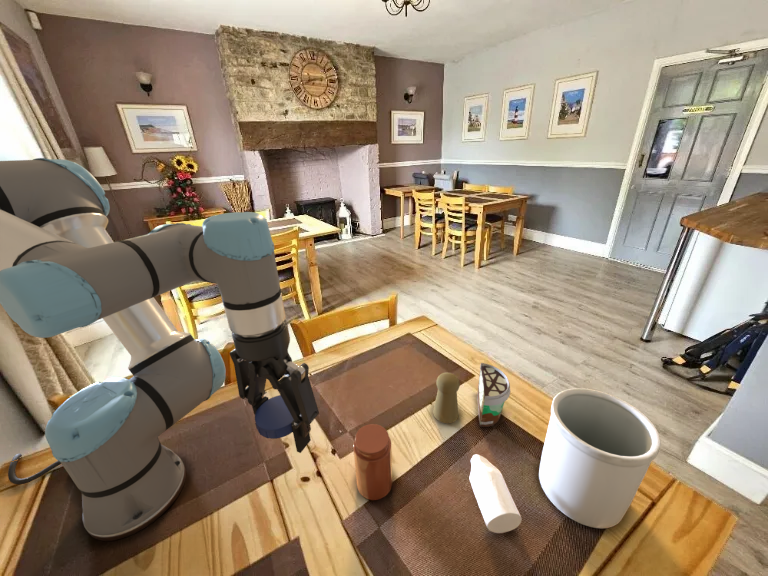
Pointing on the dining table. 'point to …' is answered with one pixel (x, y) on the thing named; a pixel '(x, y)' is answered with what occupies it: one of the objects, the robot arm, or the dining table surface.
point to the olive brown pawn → (446, 398)
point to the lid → (273, 418)
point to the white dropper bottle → (493, 496)
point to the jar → (373, 461)
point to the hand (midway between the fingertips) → (285, 437)
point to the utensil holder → (595, 455)
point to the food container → (491, 394)
